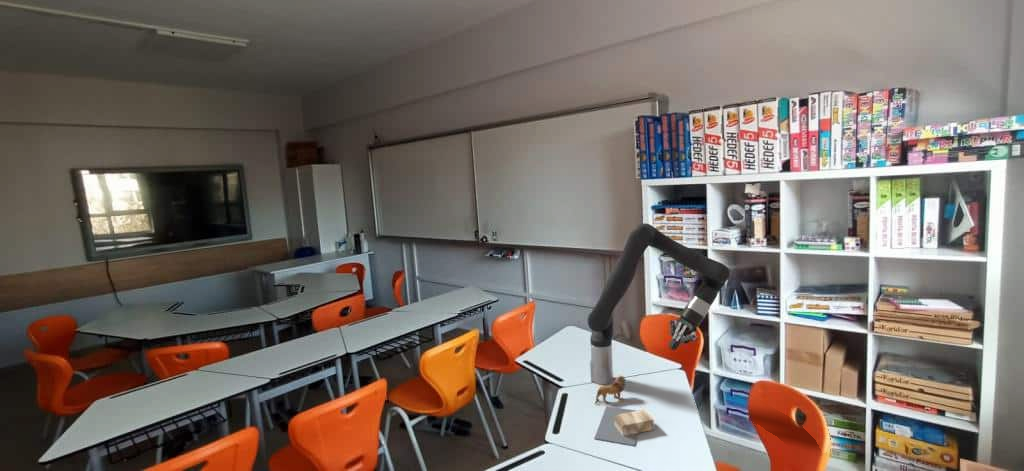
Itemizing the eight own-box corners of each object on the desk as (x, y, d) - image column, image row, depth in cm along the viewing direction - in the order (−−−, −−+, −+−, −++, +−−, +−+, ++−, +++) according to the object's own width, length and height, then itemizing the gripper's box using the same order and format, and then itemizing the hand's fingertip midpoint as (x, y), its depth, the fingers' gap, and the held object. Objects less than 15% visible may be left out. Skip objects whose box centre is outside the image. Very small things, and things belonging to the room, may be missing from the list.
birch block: (653, 429, 166) (623, 435, 163) (644, 419, 172) (614, 425, 170) (653, 419, 165) (622, 425, 163) (644, 409, 172) (614, 415, 169)
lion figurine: (621, 392, 194) (620, 372, 192) (629, 398, 189) (628, 377, 187) (591, 401, 188) (590, 381, 186) (599, 407, 183) (598, 387, 182)
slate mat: (594, 439, 163) (594, 438, 163) (606, 407, 183) (606, 406, 183) (634, 446, 158) (634, 445, 158) (642, 412, 178) (642, 411, 178)
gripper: (677, 299, 177) (653, 337, 178) (704, 315, 166) (678, 355, 167) (688, 306, 181) (664, 343, 182) (714, 321, 170) (689, 361, 171)
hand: (671, 349), depth 175 cm, fingers closed
